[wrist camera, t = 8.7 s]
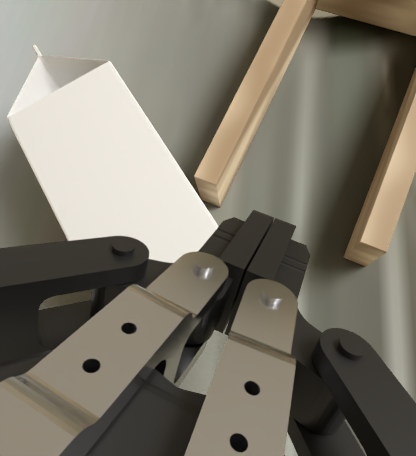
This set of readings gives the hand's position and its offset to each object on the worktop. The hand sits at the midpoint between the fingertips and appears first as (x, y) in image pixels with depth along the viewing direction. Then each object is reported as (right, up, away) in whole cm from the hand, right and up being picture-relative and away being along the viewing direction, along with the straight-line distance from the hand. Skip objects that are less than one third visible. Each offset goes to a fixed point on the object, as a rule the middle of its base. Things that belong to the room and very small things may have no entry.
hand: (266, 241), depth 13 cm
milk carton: (-3, -5, +9) cm, 10 cm away
